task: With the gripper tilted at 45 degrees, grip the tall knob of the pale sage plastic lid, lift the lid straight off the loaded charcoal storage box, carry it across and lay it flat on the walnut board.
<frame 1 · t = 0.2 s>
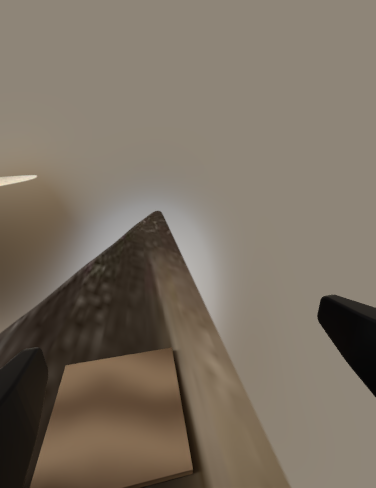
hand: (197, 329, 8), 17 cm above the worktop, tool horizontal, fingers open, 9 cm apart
walnut board: (118, 412, 22), on the worktop
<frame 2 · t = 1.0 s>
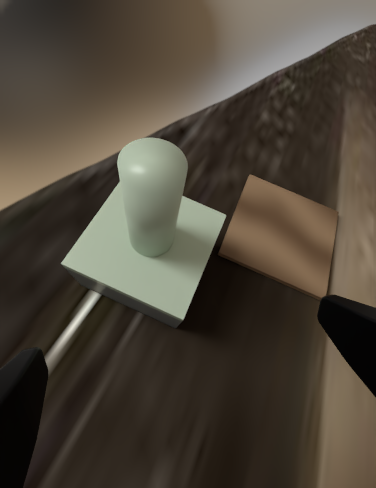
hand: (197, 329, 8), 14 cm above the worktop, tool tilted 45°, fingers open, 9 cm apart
storage box: (151, 262, 23), on the worktop
lid: (151, 245, 20), point 4 cm above the worktop, touching storage box
walnut board: (281, 233, 26), on the worktop
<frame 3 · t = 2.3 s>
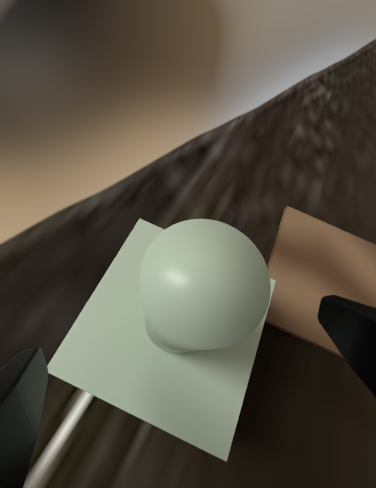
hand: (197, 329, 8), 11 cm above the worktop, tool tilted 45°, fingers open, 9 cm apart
lid: (173, 323, 14), point 4 cm above the worktop, touching storage box
walnut board: (329, 283, 21), on the worktop
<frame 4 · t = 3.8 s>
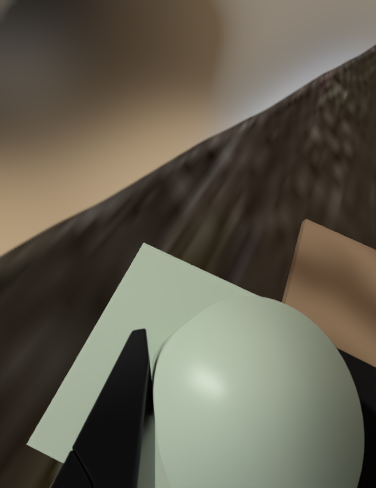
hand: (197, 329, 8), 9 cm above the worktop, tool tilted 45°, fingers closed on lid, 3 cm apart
lid: (183, 368, 12), point 4 cm above the worktop, touching gripper, storage box
walnut board: (354, 307, 19), on the worktop
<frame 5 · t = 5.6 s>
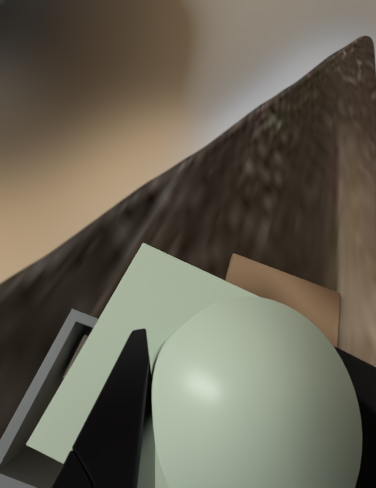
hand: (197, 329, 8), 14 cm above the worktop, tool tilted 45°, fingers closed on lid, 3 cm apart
storage box: (114, 398, 18), on the worktop
lid: (182, 368, 12), point 8 cm above the worktop, touching gripper
walnut board: (274, 330, 22), on the worktop
when the fingers open (7 cm above the worktop, at t = 7.9 s): lid drops 2 cm, resting on walnut board.
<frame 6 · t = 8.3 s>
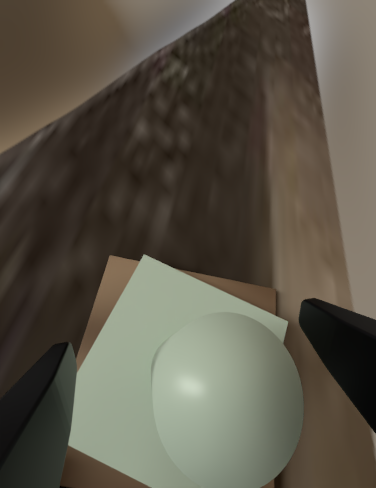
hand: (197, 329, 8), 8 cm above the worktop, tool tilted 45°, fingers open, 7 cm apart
lid: (179, 367, 13), point 1 cm above the worktop, touching walnut board
walnut board: (178, 366, 14), on the worktop
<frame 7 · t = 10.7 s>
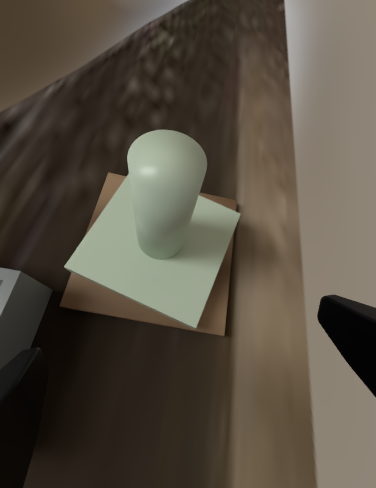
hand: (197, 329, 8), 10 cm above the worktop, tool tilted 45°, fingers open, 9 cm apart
lid: (160, 246, 18), point 1 cm above the worktop, touching walnut board
walnut board: (160, 248, 19), on the worktop
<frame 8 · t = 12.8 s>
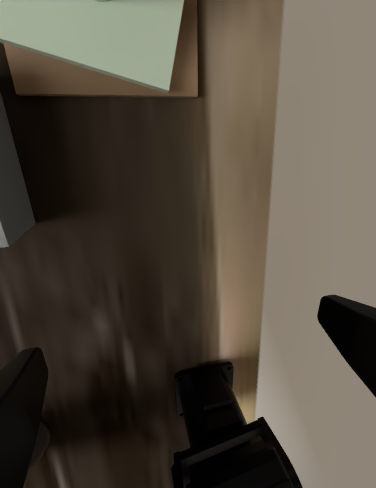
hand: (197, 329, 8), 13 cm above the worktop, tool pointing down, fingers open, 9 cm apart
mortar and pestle: (2, 424, 24), on the worktop
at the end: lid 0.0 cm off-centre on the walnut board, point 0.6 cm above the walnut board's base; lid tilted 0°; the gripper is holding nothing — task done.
